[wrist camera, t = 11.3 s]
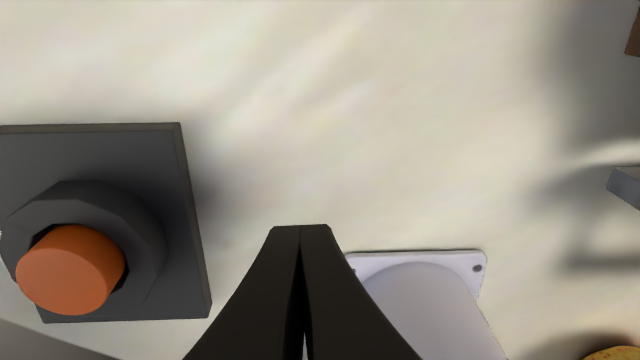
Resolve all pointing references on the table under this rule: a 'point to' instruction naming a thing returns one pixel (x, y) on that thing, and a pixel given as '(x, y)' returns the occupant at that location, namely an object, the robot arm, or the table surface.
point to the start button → (70, 270)
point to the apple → (616, 354)
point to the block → (109, 210)
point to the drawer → (625, 184)
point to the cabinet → (634, 39)
